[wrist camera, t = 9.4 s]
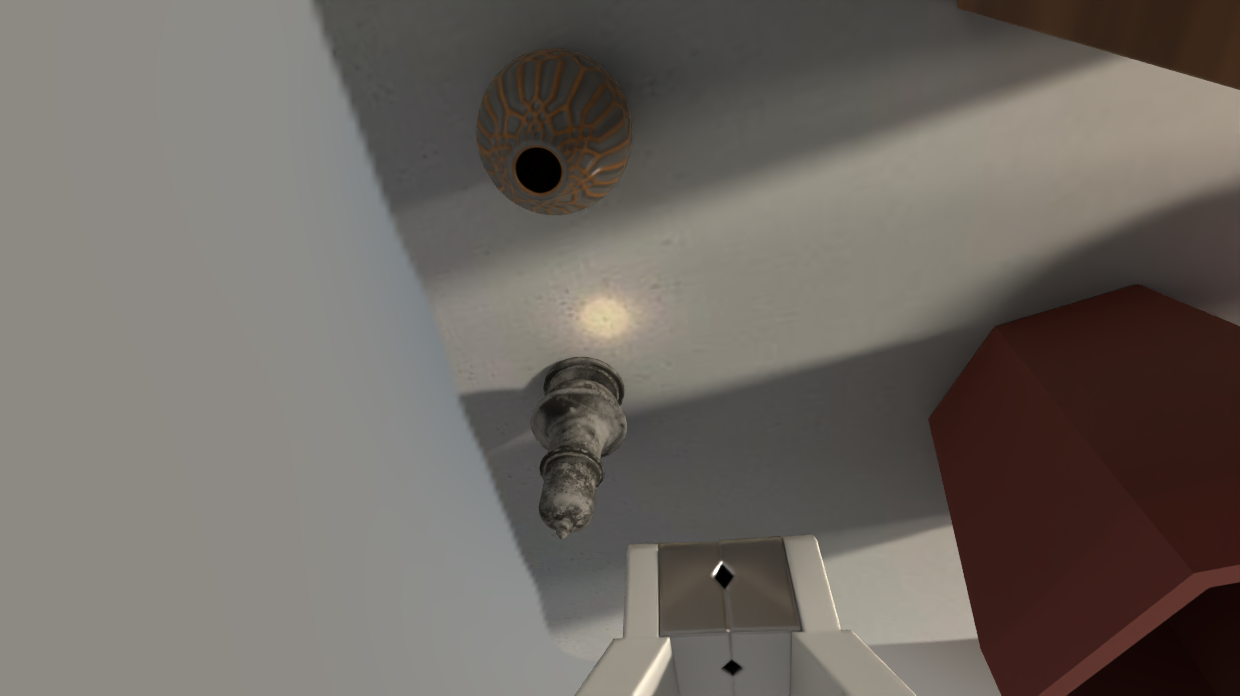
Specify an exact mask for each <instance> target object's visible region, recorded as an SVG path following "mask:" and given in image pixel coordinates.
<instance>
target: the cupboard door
mask: <svg viewBox="0 0 1240 696" xmlns="http://www.w3.org/2000/svg"><path fill="white" fill-rule="evenodd" d="M958 9H962V10H965V11H969V12H972V13H976V14H979V15H982V16H986V17H989V18H993V19H996V20H1000V21H1003V22H1007V23H1010V24H1014V25H1017V26H1021V27H1024V28H1027V29H1031V30H1034V31H1038V32H1041V33H1045V34H1048V35H1052V36H1055V37H1059V38H1062V39H1065V40H1069V41H1072V42H1076V43H1079V44H1083V45H1086V46H1090V47H1093V48H1097V49H1100V50H1104V51H1107V52H1110V53H1114V54H1117V55H1121V56H1124V57H1128V58H1131V59H1135V60H1138V61H1142V62H1145V63H1148V64H1152V65H1155V66H1159V67H1162V68H1166V69H1169V70H1173V71H1176V72H1180V73H1183V74H1187V75H1190V76H1193V77H1197V78H1200V79H1204V80H1207V81H1211V82H1214V83H1218V84H1221V85H1225V86H1228V87H1231V88H1235V89H1238V90H1240V0H959V1H958Z"/></svg>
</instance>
